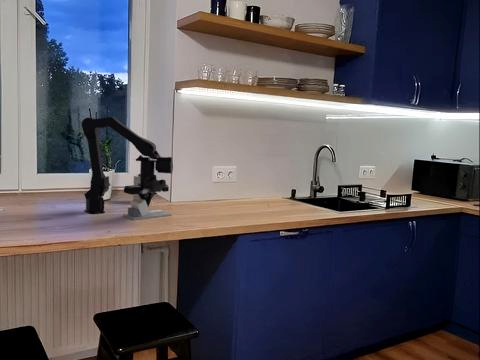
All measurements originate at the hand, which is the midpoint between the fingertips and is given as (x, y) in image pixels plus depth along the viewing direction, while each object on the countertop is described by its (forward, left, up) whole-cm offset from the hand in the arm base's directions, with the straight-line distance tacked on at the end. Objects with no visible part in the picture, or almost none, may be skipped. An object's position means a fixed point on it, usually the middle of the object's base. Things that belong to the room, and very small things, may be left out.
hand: (146, 208), depth 184 cm
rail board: (+1, 0, -3) cm, 3 cm away
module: (-2, 0, -1) cm, 2 cm away
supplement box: (+15, +26, -3) cm, 30 cm away
